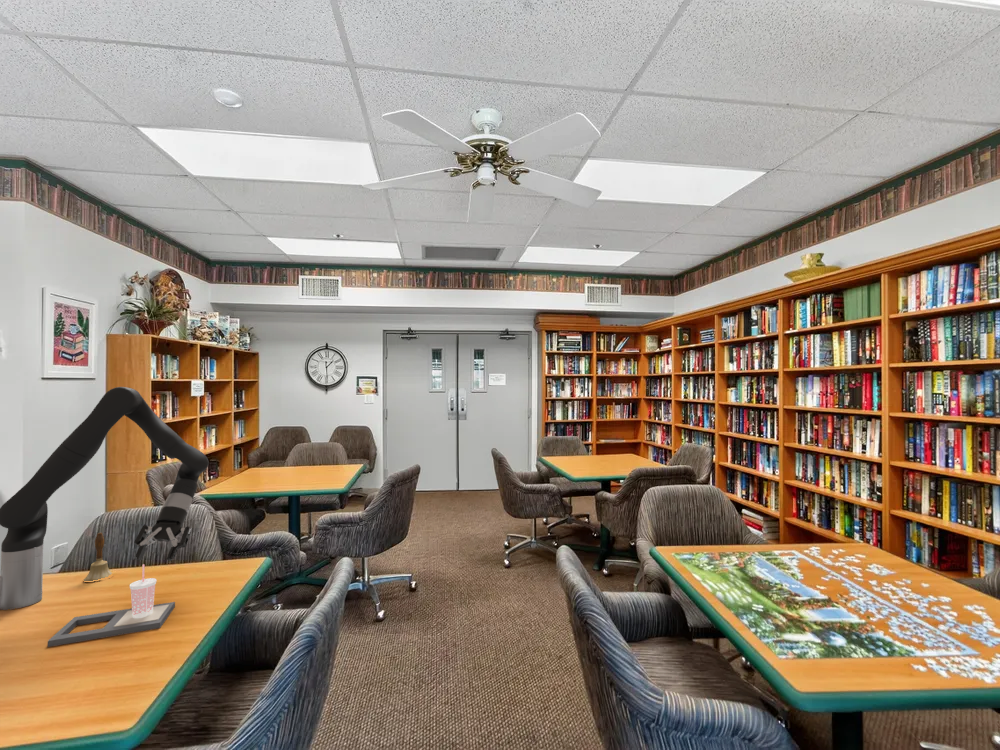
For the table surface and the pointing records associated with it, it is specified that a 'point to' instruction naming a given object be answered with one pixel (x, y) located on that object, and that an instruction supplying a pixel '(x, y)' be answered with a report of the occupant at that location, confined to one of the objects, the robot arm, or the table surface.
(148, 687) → the table surface
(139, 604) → the beverage cup
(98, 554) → the hand bell
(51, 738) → the table surface
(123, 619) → the hole board
